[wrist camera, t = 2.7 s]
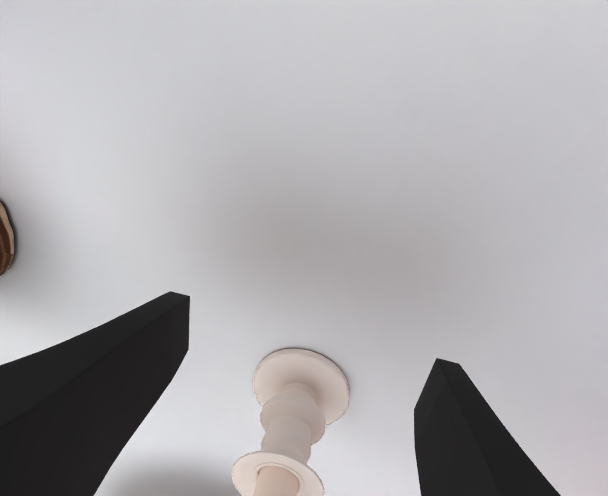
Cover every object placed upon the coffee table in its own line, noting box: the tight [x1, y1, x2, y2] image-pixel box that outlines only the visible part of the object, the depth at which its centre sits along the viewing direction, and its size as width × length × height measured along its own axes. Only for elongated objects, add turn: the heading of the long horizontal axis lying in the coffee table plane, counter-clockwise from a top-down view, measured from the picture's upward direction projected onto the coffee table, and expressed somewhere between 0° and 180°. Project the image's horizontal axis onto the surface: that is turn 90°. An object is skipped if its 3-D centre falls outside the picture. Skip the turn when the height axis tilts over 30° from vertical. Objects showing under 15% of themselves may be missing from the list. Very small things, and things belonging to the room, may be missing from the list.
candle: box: [231, 349, 350, 496], centre depth 15 cm, size 5×5×10 cm
